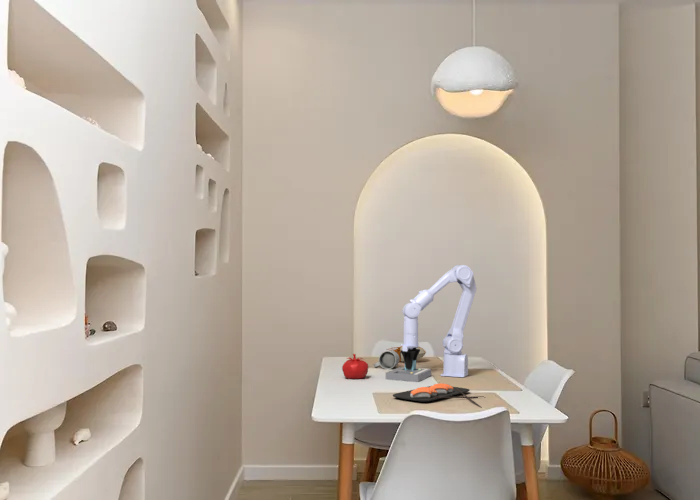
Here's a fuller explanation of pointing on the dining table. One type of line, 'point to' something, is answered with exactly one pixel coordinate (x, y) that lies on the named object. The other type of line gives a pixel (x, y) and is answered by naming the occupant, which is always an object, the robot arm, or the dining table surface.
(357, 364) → the red round piece
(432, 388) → the sushi plate
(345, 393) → the dining table surface
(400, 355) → the nautilus
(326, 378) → the dining table surface
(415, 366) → the plug
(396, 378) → the panel
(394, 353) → the ceramic mug
